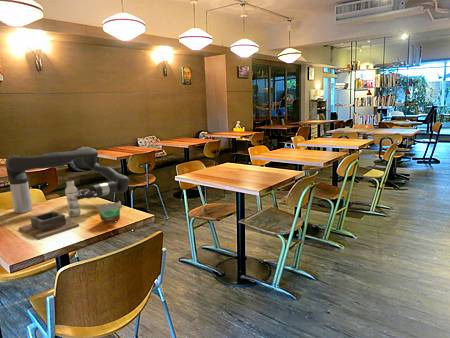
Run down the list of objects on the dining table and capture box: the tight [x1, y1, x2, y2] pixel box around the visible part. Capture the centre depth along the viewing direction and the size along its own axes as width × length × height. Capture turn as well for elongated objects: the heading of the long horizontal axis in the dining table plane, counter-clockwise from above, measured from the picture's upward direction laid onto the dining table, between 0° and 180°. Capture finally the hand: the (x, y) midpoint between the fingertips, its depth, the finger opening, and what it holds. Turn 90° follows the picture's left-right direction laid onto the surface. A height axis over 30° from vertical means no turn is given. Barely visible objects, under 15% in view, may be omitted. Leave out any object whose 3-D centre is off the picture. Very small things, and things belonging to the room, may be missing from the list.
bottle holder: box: [18, 210, 80, 240], centre depth 174 cm, size 22×20×6 cm
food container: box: [96, 200, 122, 224], centre depth 180 cm, size 12×6×10 cm, turn 117°
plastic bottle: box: [64, 180, 81, 218], centre depth 190 cm, size 6×7×20 cm
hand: (73, 196), depth 190 cm, fingers open, 8 cm apart
